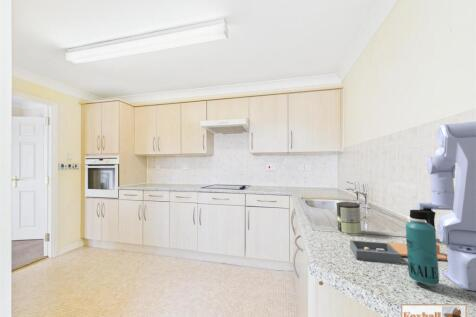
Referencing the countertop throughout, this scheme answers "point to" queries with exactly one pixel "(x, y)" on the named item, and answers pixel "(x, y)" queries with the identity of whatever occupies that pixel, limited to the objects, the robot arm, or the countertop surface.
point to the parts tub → (375, 251)
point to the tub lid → (403, 250)
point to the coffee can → (348, 218)
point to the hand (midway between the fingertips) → (445, 230)
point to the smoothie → (414, 219)
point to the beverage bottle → (422, 249)
